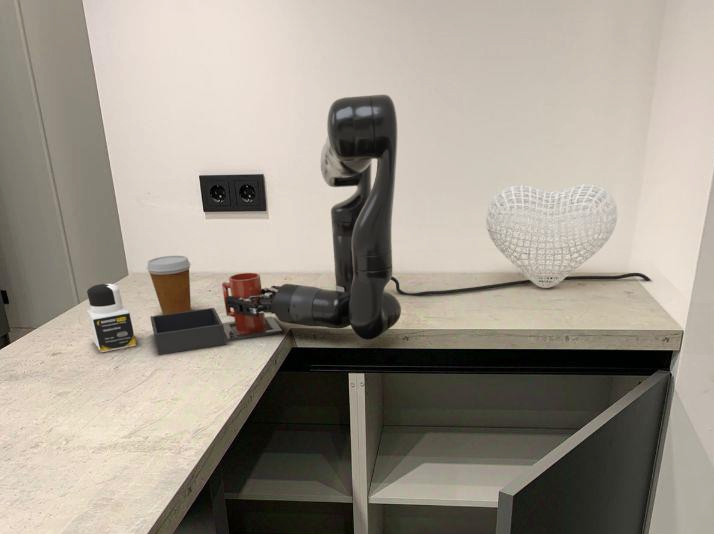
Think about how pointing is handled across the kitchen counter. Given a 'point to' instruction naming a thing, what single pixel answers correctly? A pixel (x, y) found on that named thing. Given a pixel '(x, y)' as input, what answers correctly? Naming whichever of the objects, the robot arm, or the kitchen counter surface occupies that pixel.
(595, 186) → the heart
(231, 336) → the hollow square frame
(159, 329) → the grey square storage bin
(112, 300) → the medicine bottle
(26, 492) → the kitchen counter surface
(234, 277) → the red mug
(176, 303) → the disposable coffee cup
